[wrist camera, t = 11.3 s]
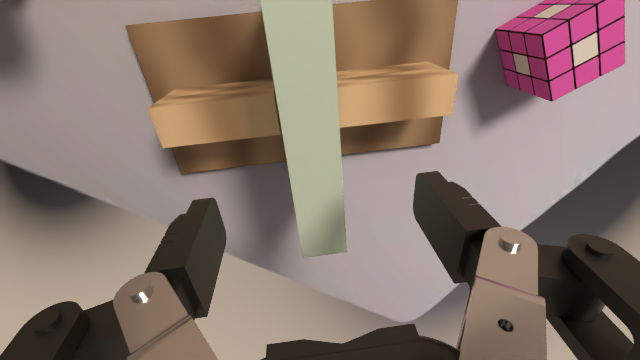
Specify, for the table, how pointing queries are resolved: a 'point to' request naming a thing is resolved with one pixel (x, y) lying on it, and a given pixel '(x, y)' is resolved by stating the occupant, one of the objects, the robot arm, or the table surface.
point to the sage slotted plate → (309, 117)
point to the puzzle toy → (562, 45)
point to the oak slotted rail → (259, 91)
